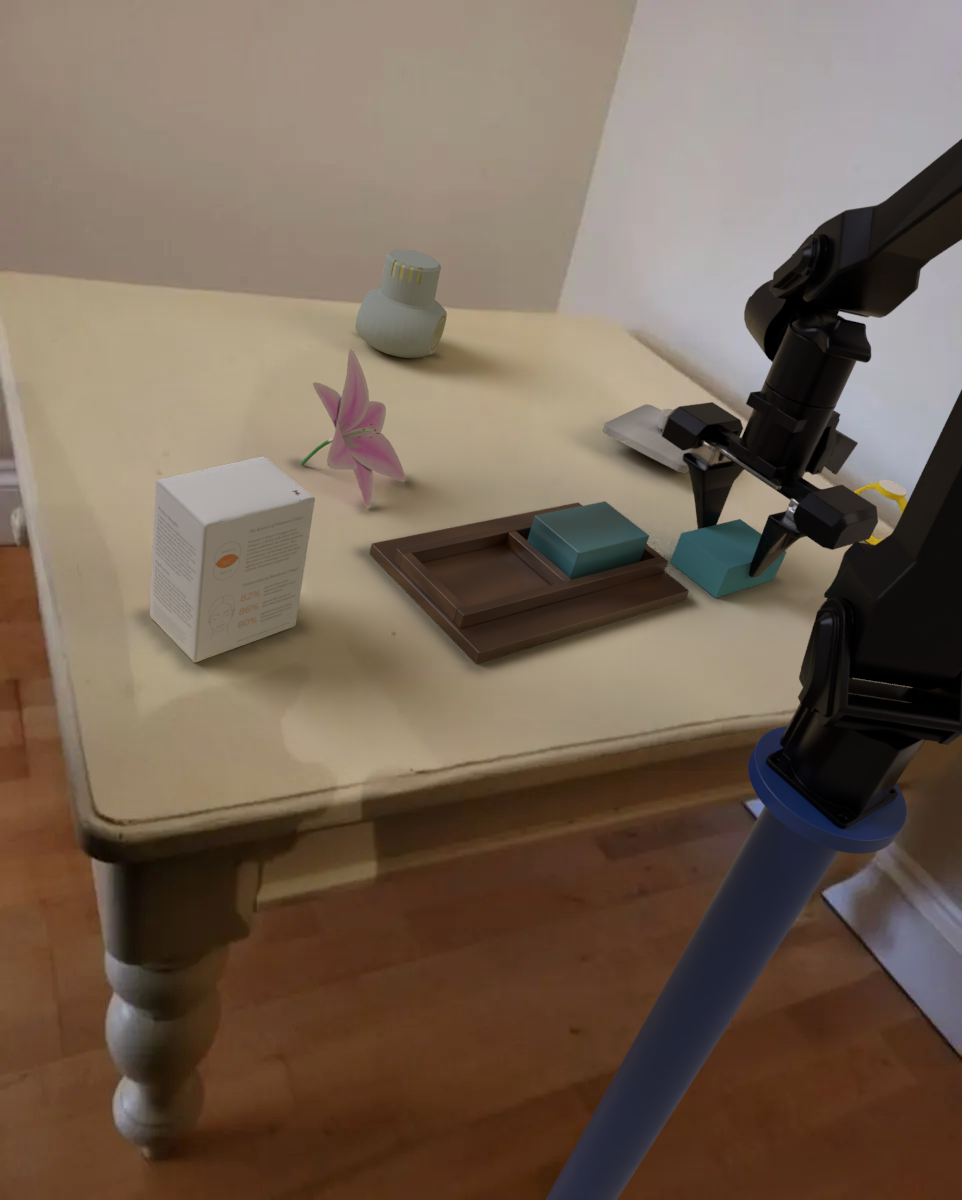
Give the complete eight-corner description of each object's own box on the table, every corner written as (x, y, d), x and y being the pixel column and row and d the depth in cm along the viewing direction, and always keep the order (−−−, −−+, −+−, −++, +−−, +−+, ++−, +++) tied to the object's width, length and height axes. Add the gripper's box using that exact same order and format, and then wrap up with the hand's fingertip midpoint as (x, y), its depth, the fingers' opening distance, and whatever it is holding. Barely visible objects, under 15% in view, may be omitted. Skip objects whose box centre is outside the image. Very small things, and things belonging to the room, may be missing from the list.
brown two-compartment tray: (685, 600, 84) (702, 560, 81) (476, 664, 70) (489, 618, 68) (575, 511, 92) (588, 472, 89) (369, 553, 78) (377, 509, 76)
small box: (250, 584, 72) (266, 453, 66) (297, 628, 69) (318, 495, 63) (145, 616, 66) (153, 476, 61) (192, 666, 64) (205, 524, 58)
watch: (831, 526, 101) (857, 473, 98) (843, 519, 103) (869, 468, 100) (885, 556, 99) (913, 504, 95) (896, 549, 100) (925, 498, 97)
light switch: (676, 491, 100) (694, 445, 97) (593, 447, 103) (608, 402, 101) (717, 465, 107) (735, 422, 104) (638, 425, 111) (653, 383, 108)
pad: (773, 580, 90) (787, 552, 88) (715, 598, 85) (728, 568, 83) (727, 546, 93) (740, 518, 91) (669, 562, 88) (681, 533, 86)
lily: (293, 532, 80) (370, 454, 76) (229, 416, 84) (299, 335, 79) (388, 533, 90) (460, 465, 86) (328, 429, 94) (394, 359, 89)
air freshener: (375, 322, 118) (390, 235, 112) (443, 342, 117) (462, 256, 112) (346, 353, 108) (361, 260, 103) (420, 375, 108) (439, 283, 103)
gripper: (955, 438, 79) (866, 599, 87) (773, 336, 89) (710, 489, 98) (876, 454, 72) (789, 627, 81) (690, 342, 83) (630, 506, 92)
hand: (728, 556), depth 88 cm, fingers open, 6 cm apart
